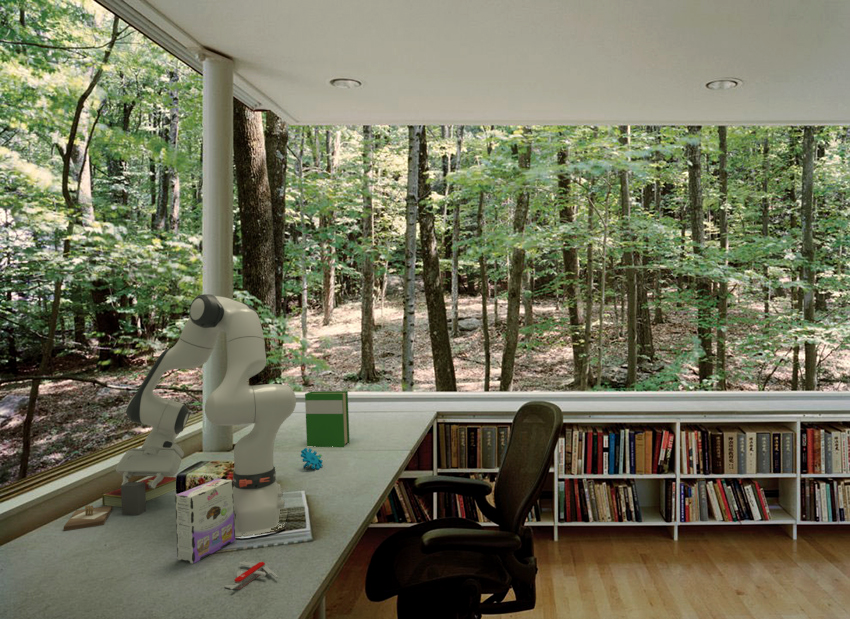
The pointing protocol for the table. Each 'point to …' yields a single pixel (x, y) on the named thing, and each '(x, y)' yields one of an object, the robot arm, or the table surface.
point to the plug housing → (133, 498)
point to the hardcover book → (160, 489)
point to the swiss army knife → (250, 574)
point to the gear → (311, 458)
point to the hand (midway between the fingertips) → (137, 487)
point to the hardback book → (327, 418)
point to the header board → (88, 517)
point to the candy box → (204, 520)
